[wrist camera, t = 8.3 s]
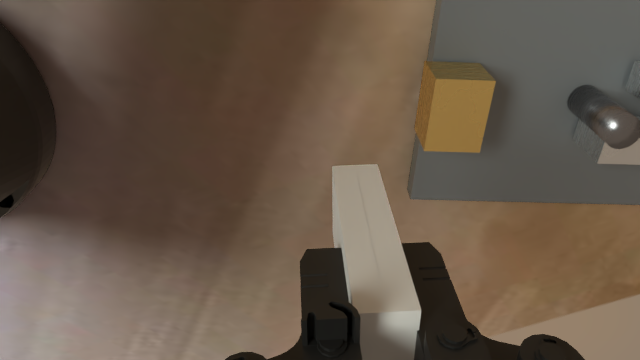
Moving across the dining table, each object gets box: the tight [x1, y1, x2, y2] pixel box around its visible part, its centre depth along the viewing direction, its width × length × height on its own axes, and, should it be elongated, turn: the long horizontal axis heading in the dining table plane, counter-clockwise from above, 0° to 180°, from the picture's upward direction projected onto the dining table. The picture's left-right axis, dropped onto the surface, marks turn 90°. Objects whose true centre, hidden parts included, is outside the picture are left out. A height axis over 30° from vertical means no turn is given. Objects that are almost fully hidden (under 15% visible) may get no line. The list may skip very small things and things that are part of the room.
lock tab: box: [414, 61, 496, 153], centre depth 28 cm, size 3×4×3 cm
